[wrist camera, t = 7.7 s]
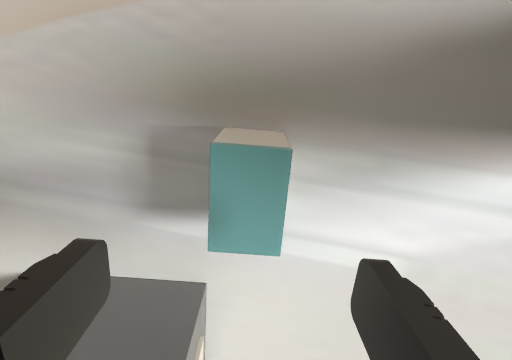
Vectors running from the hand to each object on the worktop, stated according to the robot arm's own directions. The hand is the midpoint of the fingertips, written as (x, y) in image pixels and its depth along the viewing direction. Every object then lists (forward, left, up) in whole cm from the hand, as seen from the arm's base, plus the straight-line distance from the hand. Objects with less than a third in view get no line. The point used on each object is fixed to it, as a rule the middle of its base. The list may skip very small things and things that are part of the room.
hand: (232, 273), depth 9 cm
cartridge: (0, 0, -12) cm, 12 cm away
